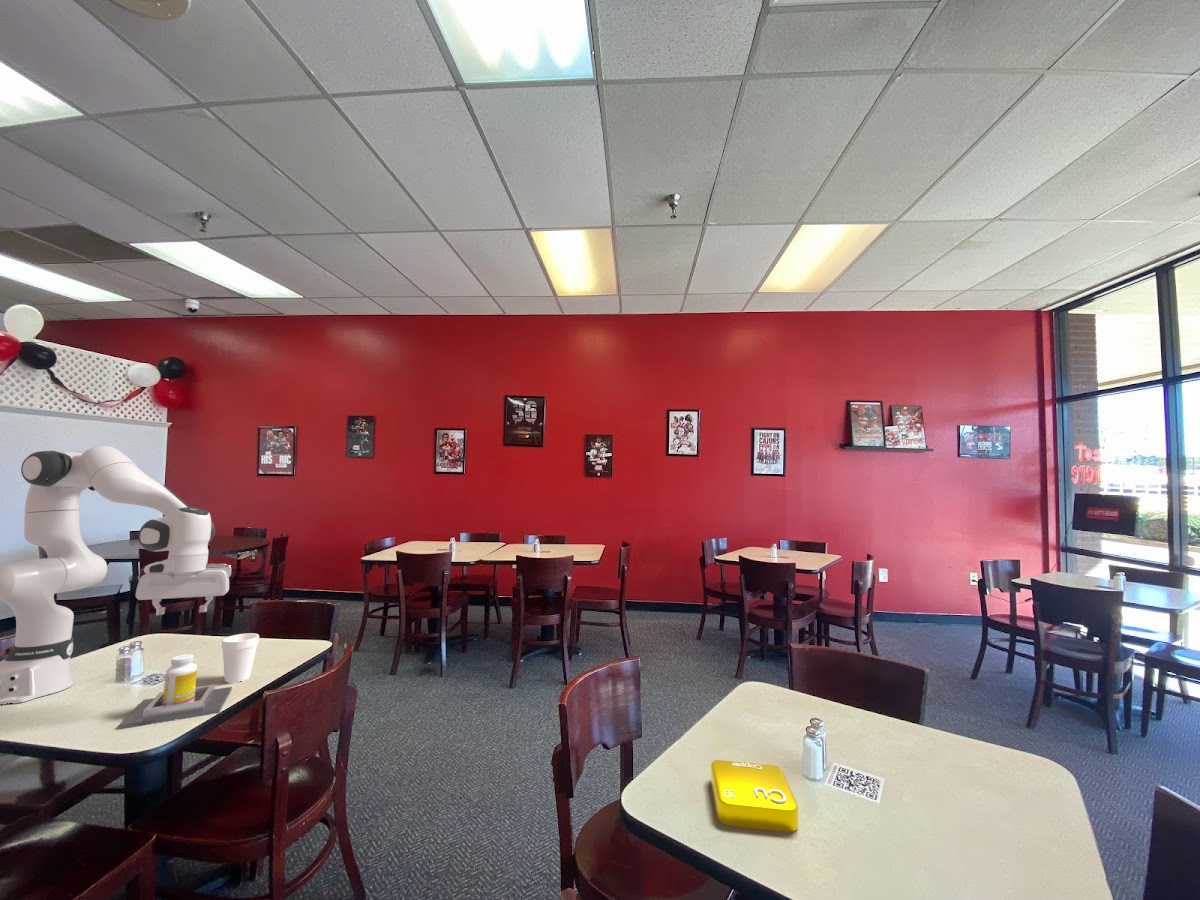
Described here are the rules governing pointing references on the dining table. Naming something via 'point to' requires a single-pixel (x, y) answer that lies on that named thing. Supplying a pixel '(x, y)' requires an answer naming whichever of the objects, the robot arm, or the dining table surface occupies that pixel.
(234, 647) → the foam cup
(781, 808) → the element tile
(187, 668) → the supplement bottle
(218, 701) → the grey tray
